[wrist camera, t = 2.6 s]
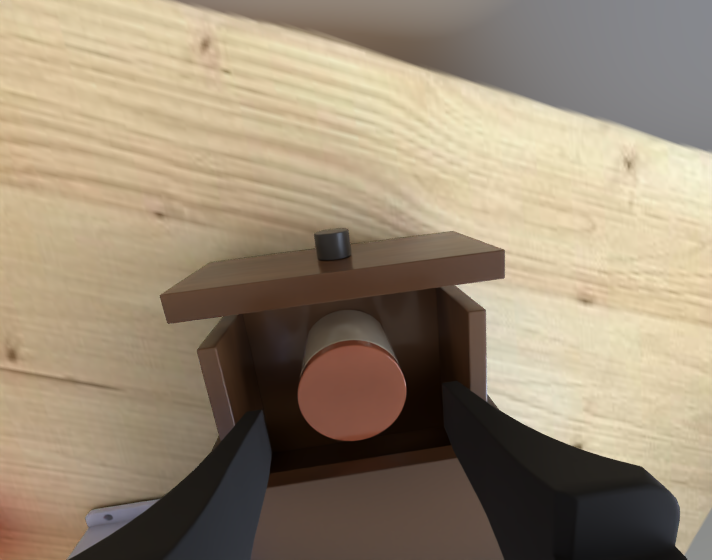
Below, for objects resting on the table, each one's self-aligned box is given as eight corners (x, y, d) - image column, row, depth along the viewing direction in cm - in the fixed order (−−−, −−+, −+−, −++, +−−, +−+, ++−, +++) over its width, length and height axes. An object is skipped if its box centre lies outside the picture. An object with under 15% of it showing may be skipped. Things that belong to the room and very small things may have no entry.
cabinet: (236, 394, 22) (190, 500, 14) (463, 361, 22) (528, 446, 15) (274, 554, 25) (253, 703, 18) (468, 522, 26) (523, 653, 19)
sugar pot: (310, 393, 20) (306, 449, 16) (297, 315, 19) (288, 354, 14) (393, 381, 20) (410, 433, 16) (385, 303, 19) (402, 338, 15)
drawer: (204, 239, 18) (149, 264, 13) (453, 208, 19) (505, 218, 13) (254, 453, 22) (229, 544, 16) (460, 421, 23) (504, 499, 17)
